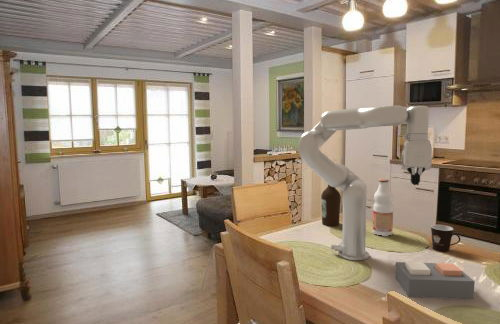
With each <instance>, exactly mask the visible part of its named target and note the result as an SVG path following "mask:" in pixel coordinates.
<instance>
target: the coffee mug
mask: <svg viewBox="0 0 500 324" xmlns="http://www.w3.org/2000/svg"><path fill="white" fill-rule="evenodd" d="M430 231H431V240H432V241H431V242H432V244H431V245H432V250H434V251H436V252H440V253H448V252H449V251H450V248H451V247H452V246H454V245H457V244H459V243H460V242H461V236H460V235H459V234H457V233H453V232H454V227H452V226H449V225H444V224H432V225H431V226H430ZM453 236H456V237H457V238H458V241H456V242H454V243H452V238H453Z"/></svg>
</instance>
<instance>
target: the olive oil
mask: <svg viewBox="0 0 500 324" xmlns="http://www.w3.org/2000/svg"><path fill="white" fill-rule="evenodd" d="M320 196H321V199H320V200H321V224H322V225H324V226H328V227H337V226H339V225H340V215H341V214H340V213H341V202H342V201H341V200H342V197H341V196H342V195H341V193H340V191H339V190H338V189H337V187H332V186H330V185H328V184H327V187H326V188H325V189H324V190H322V193H321V195H320Z"/></svg>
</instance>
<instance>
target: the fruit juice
mask: <svg viewBox="0 0 500 324" xmlns="http://www.w3.org/2000/svg"><path fill="white" fill-rule="evenodd" d="M389 184H390V179H388V178H378V187H377V190H376V191H375V192H374V195H373V201H374V203H373V207H372V208H373V211H372V233H373V235H375V234H377V235H376V236H378V235H382V236H381V237H389V236H388V235H391V236H392V235H393V226H394V225H393V224H394V223H393V222H394V205H393V201H394V194H393V192H392V191H391V189H390V188H391V187H390V185H389Z"/></svg>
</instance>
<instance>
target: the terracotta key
mask: <svg viewBox="0 0 500 324" xmlns="http://www.w3.org/2000/svg"><path fill="white" fill-rule="evenodd" d="M434 263H435V269H436V270H437V271H438V272H439V273H440V274H441V275H442V276H462V271H463V270H462V269H461V268H459V267H458V266H457V265H456V264H455V263H452V262H451V263H450V262H449V263H447V262H445V263H443V262H434ZM460 269H461V270H460Z"/></svg>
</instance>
